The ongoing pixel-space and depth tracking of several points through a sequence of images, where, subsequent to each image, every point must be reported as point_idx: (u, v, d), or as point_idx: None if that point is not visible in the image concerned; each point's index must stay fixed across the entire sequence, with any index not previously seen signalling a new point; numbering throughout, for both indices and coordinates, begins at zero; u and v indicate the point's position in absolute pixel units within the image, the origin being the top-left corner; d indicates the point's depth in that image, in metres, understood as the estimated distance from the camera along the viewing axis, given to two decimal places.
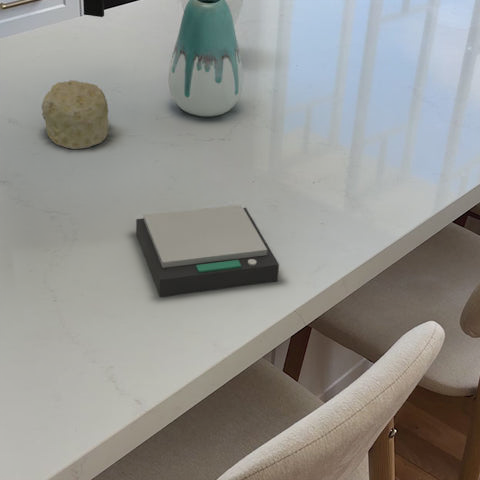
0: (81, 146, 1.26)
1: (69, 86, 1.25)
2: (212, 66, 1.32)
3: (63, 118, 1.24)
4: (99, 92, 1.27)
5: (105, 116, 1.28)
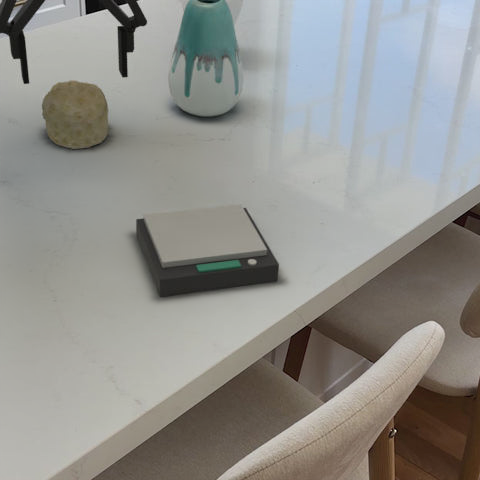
0: (81, 146, 1.26)
1: (69, 86, 1.25)
2: (212, 66, 1.32)
3: (63, 118, 1.24)
4: (99, 92, 1.27)
5: (105, 116, 1.28)
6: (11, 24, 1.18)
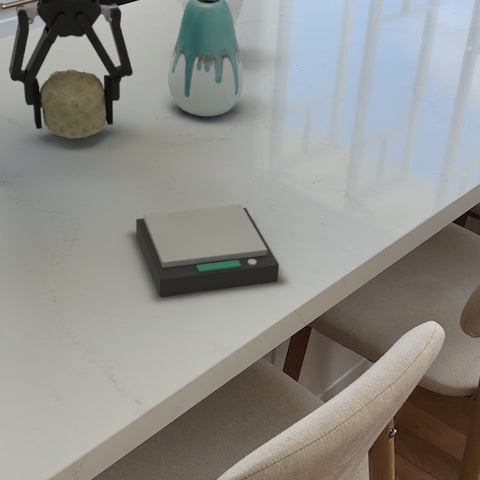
0: (78, 135, 1.25)
1: (67, 75, 1.24)
2: (212, 66, 1.32)
3: (61, 107, 1.23)
4: (97, 81, 1.26)
5: (103, 106, 1.27)
6: (26, 72, 1.22)
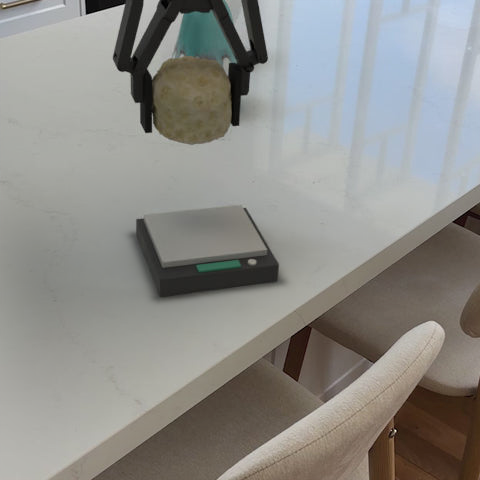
0: (200, 141, 0.97)
1: (186, 63, 0.96)
2: None
3: (180, 104, 0.95)
4: (222, 71, 0.98)
5: (229, 102, 0.99)
6: (135, 60, 0.94)
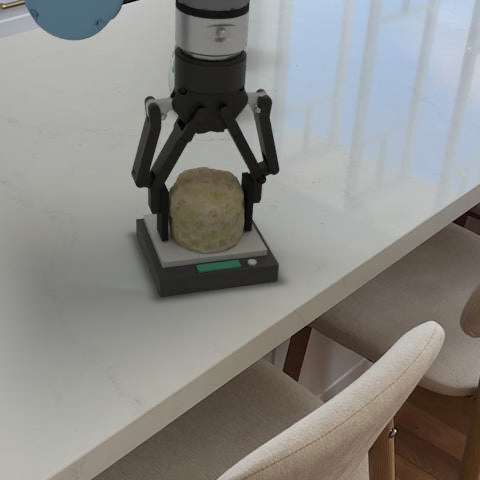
0: (215, 250, 1.01)
1: (201, 176, 1.00)
2: None
3: (195, 217, 0.99)
4: (236, 182, 1.02)
5: (242, 211, 1.03)
6: (152, 175, 0.99)
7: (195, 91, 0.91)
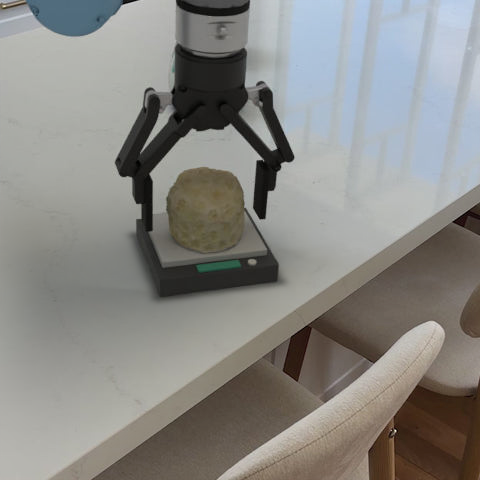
0: (215, 250, 1.01)
1: (201, 176, 1.00)
2: None
3: (195, 217, 0.99)
4: (236, 182, 1.02)
5: (242, 211, 1.03)
6: (136, 164, 0.97)
7: (195, 88, 0.91)
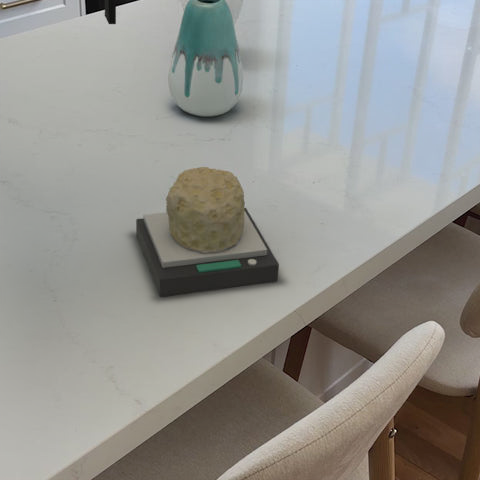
0: (215, 250, 1.01)
1: (201, 176, 1.00)
2: (212, 66, 1.32)
3: (195, 217, 0.99)
4: (236, 182, 1.02)
5: (242, 211, 1.03)
6: None
7: None
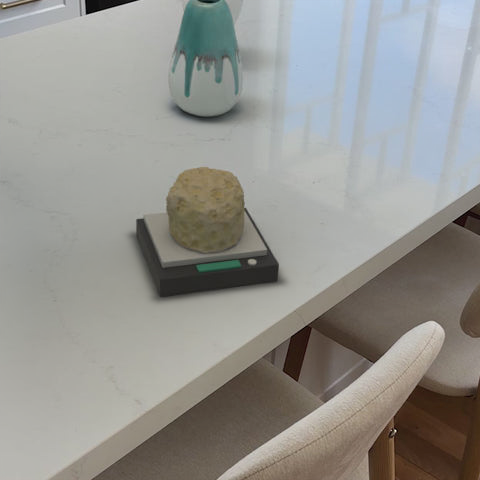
0: (215, 250, 1.01)
1: (201, 176, 1.00)
2: (212, 66, 1.32)
3: (195, 217, 0.99)
4: (236, 182, 1.02)
5: (242, 211, 1.03)
6: None
7: None
